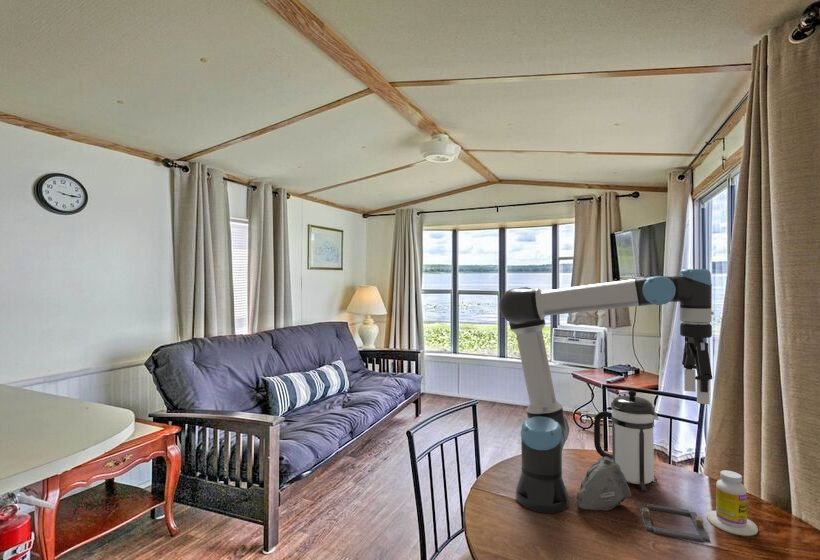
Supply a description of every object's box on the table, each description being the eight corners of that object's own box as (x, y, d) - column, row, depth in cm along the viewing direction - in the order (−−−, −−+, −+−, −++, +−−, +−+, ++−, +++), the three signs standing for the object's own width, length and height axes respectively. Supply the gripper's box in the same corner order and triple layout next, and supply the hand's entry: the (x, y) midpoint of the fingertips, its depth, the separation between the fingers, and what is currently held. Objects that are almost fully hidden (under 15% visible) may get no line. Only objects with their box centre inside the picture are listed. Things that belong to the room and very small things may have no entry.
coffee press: (646, 470, 146) (645, 384, 146) (667, 494, 130) (667, 397, 130) (593, 468, 148) (593, 383, 148) (608, 490, 132) (607, 395, 132)
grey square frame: (646, 531, 111) (646, 522, 111) (638, 504, 124) (638, 496, 124) (710, 543, 105) (710, 533, 105) (695, 514, 119) (695, 505, 119)
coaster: (713, 530, 111) (713, 528, 111) (701, 509, 121) (701, 507, 121) (765, 539, 107) (765, 537, 107) (748, 517, 117) (748, 514, 117)
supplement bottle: (741, 531, 109) (740, 482, 109) (712, 519, 115) (711, 472, 115) (751, 523, 113) (750, 475, 113) (722, 512, 119) (721, 466, 119)
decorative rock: (624, 502, 125) (623, 451, 125) (637, 514, 119) (636, 461, 119) (570, 503, 125) (570, 453, 125) (580, 516, 118) (580, 462, 118)
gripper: (726, 328, 107) (727, 411, 107) (698, 319, 131) (699, 387, 130) (691, 327, 110) (692, 407, 110) (670, 318, 133) (671, 385, 133)
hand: (696, 397), depth 120 cm, fingers open, 13 cm apart
